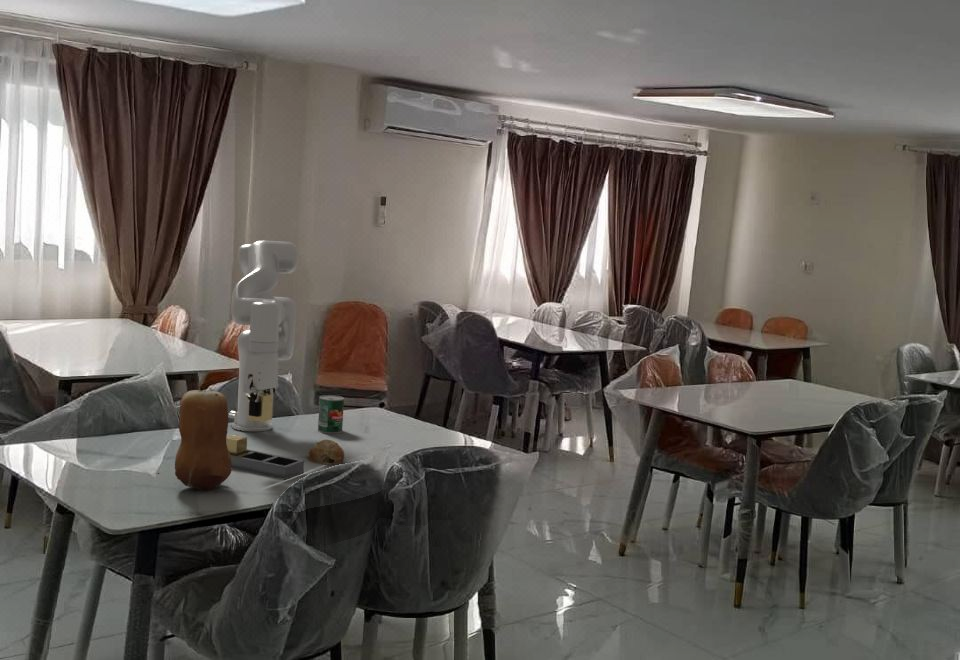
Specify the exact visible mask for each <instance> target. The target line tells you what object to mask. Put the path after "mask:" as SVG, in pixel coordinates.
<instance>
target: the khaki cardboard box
mask: <svg viewBox="0 0 960 660" xmlns="http://www.w3.org/2000/svg"><path fill="white" fill-rule="evenodd" d="M226 443H227V448H228V450H229V453H230V455H234V456H239V455H242V454H245V453H246V452H247V449H248V448H247V446H248V436H242V435H236V434H231V435H228V436H227V437H226Z"/></svg>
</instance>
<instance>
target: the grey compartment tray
mask: <svg viewBox="0 0 960 660" xmlns="http://www.w3.org/2000/svg"><path fill="white" fill-rule="evenodd" d="M230 456H231V461H232V465H231V468H232V469H238V470H242V471H243V470H244V471H248V472H253V473H258V474H262V475H267V476H271V477H272V476H273V477H277V478H281V479H282V478H283V481H287V480H289V479H292V478H295V477H298V476H300V475H302V474H303V475H304V472H305V471H304V469H305V466H304V465H305V460H302V459H297V458H292V457H289V456H288V457H287V456H284V455H278V454H272V453H269V452H268V453H267V452H262V451H258V450H257V451H256V450H251V449H248V448H247V452H246V453H245V454H242V455H239V456H234V455H230Z"/></svg>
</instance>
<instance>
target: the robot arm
mask: <svg viewBox="0 0 960 660" xmlns="http://www.w3.org/2000/svg"><path fill="white" fill-rule="evenodd" d="M299 253H300V252H299V249H298V246H297V245H296V244H295V243H293V242H291V241H279V240H264V239H263V240H257V241H255V242H253V243H246V244H242V245H241V246H239V248H238V250H237V261H238V263H239V267H240V270H241V272H242V275H243V277H242V278H241V279H240V280H239V281H238V282H237V283H236V284H235V286H234V288H233V290H232V293H231V307H230V308H231V309H230V310H231V311H230V312H231V318H232V320H233V322H234V323H235V324H237V325H241V326H249V329H245V330H243V331H241V332H240V333H239V334H238V338H237V348H238V349H237V351H238V369H239V370H238V372H239V373H238V374H239V375H238V391H237V395H238V396H237V411H235V410H231V411H229V413H228V419H229V418H230V419H234V420H233V422H232V423H231V428H232V427H233V428H232V429H234V430H236V429H237V430H236V431H240V430H241V431H242V432H251V433H254V432H256V433H257V432H258V433H259V432H266V431H269V430H271V429H272V428H273V423H272V422H270V421H269V420H268V421H264V422H258V421H253V420H248V412H249V415H250V416H255V417H259V416H260V402H259V398H260V392H263V393H269V394H273V398H274V395H275V392H276V391H277V389H278V388H279V385H280V384H279V382H278V381H279V361H288V360H291V358H292V357H293V355H294V351H295V350H294V349H295V338H296V337H295V335H296V321H297V320H296V318H297V317H296V313H297V311H296V309H297V308H296V303H295V302H294V300H293V299H292V298H290V297H286V296H274V295H273V290H274V288H276V286H277V285H278V282H279V274H285V275H286V274H287V275H288V274H293V273H294V272H295V271H296V270H297V268H298V266H299V261H300V254H299ZM279 328H280V329H279ZM254 393H256V396H255V394H254Z"/></svg>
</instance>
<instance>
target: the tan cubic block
mask: <svg viewBox="0 0 960 660" xmlns="http://www.w3.org/2000/svg"><path fill="white" fill-rule="evenodd" d="M254 394H255V396H256V393H254ZM273 395H274V394H269V393H263V392H260V398H259V402H260V416H259V417H255V416H250V415H249V412H248V420H253V421H258V422H264V421H268V422H269V421H271V420H273V409H274V408H273V406H274V397H273Z"/></svg>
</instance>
